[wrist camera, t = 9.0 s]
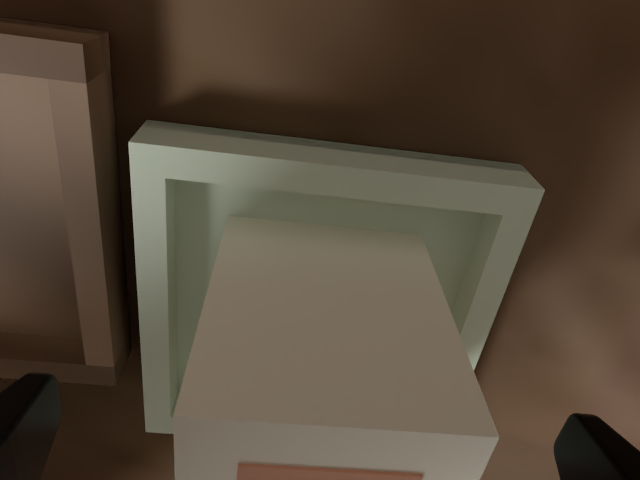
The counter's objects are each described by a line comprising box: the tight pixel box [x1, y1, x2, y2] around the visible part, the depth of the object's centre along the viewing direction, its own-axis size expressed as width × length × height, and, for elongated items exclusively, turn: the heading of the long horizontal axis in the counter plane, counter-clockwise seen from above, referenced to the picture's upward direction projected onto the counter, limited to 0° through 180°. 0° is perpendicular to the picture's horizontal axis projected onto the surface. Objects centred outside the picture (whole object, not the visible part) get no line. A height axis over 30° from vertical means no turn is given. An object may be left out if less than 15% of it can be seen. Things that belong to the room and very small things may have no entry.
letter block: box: [173, 216, 499, 480], centre depth 9 cm, size 4×4×5 cm
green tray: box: [128, 120, 545, 434], centre depth 11 cm, size 7×7×1 cm
